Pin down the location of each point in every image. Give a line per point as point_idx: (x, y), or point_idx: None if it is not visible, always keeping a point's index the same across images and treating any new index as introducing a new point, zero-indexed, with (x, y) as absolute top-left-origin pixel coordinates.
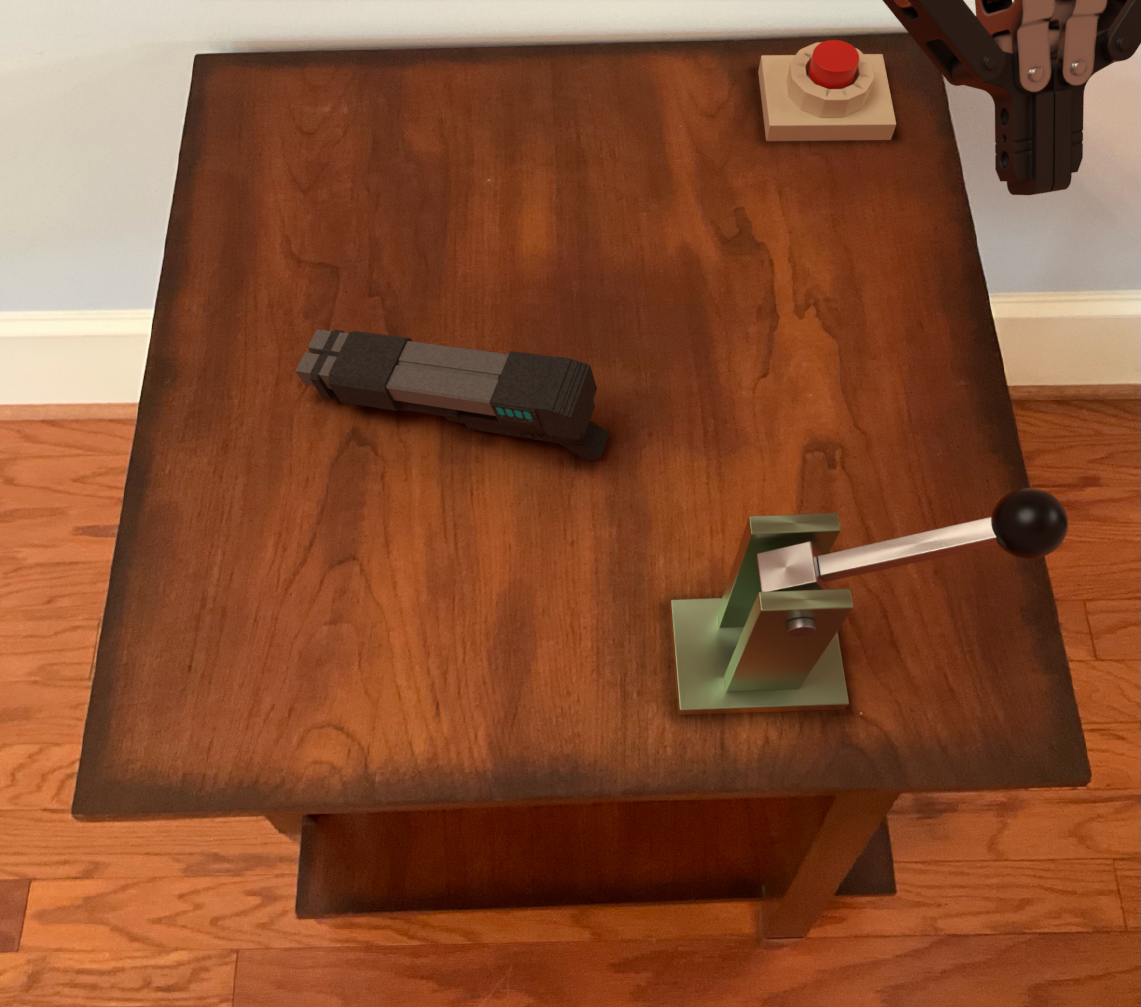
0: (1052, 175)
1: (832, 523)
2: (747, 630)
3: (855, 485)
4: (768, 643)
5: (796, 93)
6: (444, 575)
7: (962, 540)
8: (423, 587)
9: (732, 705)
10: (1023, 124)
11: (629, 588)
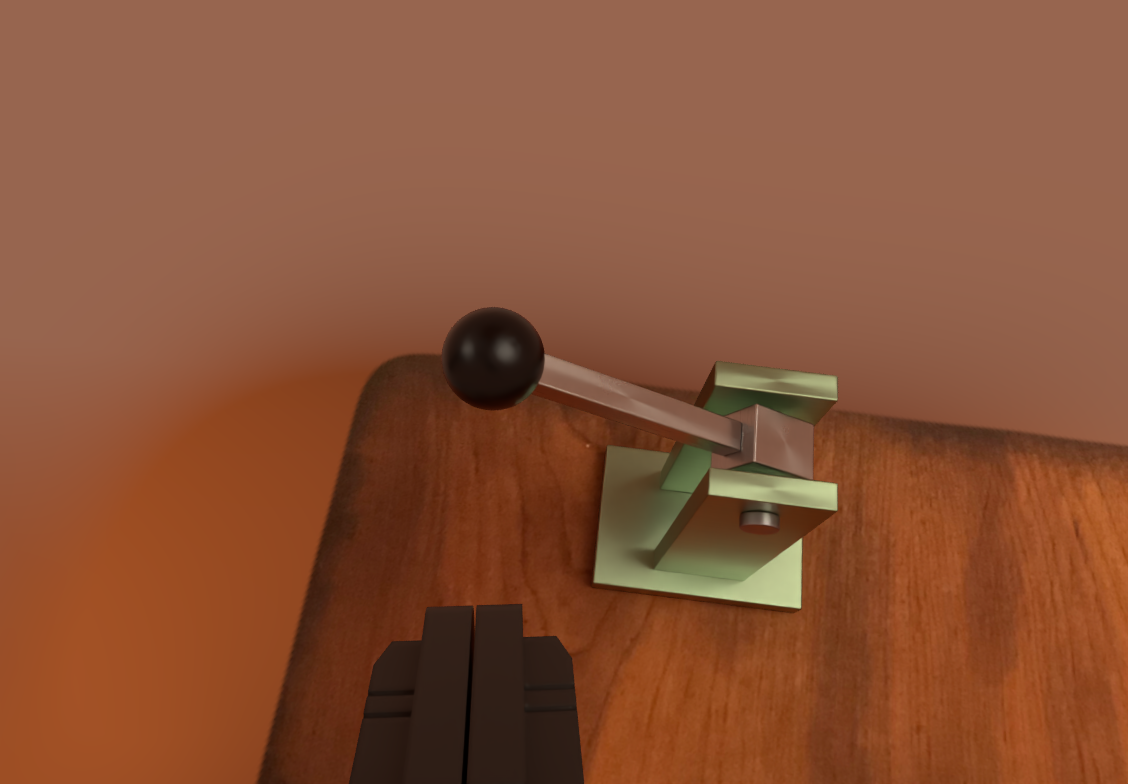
0: (478, 619)
1: (718, 480)
2: None
3: None
4: None
5: None
6: (1090, 707)
7: (580, 372)
8: (1116, 693)
9: None
10: (547, 744)
11: (843, 647)
